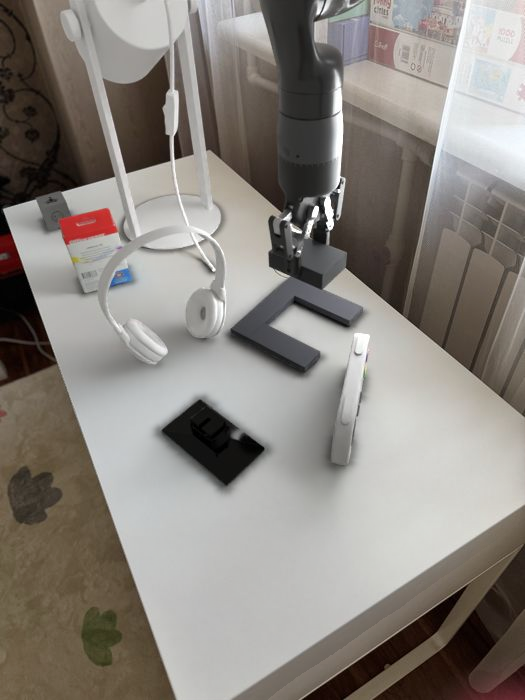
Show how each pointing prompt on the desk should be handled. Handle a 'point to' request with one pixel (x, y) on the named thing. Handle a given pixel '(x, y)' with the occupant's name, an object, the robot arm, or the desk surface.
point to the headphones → (201, 308)
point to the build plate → (213, 441)
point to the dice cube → (53, 209)
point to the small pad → (314, 263)
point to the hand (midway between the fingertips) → (307, 262)
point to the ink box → (93, 247)
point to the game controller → (350, 400)
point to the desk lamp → (134, 64)
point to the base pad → (258, 319)
